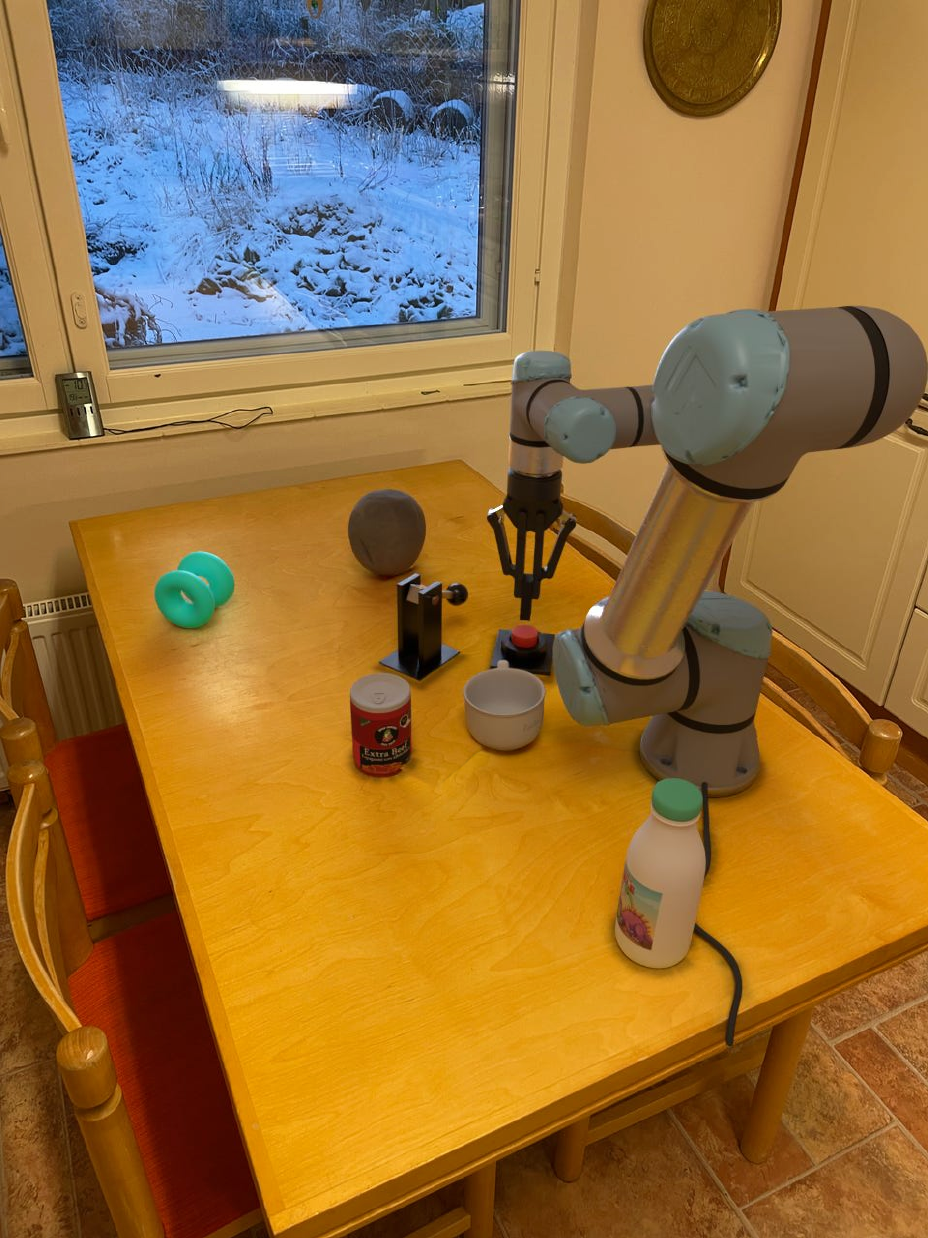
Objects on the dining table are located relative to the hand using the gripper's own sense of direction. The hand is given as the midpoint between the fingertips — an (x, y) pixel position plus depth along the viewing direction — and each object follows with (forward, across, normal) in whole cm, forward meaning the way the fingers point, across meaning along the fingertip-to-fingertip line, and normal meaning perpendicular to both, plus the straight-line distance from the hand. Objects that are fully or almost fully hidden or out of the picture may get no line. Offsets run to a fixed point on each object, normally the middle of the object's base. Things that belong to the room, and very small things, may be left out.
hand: (525, 615), depth 136 cm
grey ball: (+8, +27, -25) cm, 38 cm away
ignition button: (+5, 0, 0) cm, 5 cm away
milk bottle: (+8, -18, +52) cm, 55 cm away
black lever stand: (+8, +15, +4) cm, 18 cm away
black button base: (+8, 0, 0) cm, 8 cm away
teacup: (+8, +1, +19) cm, 20 cm away
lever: (-1, +14, +1) cm, 14 cm away
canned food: (+8, +16, +28) cm, 33 cm away
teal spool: (+8, +54, -3) cm, 55 cm away
